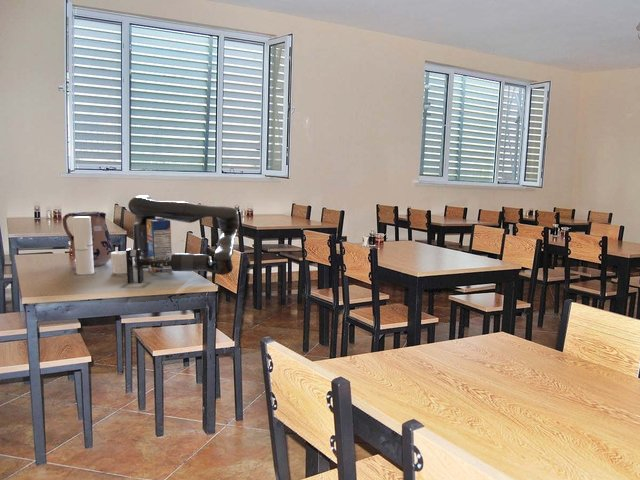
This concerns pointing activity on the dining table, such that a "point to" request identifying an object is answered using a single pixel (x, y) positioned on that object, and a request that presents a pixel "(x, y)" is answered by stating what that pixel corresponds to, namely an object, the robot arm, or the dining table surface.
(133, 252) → the lever
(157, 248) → the juice carton
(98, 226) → the ceramic pitcher
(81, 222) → the cylindrical container
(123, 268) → the white cup
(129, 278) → the bracket
